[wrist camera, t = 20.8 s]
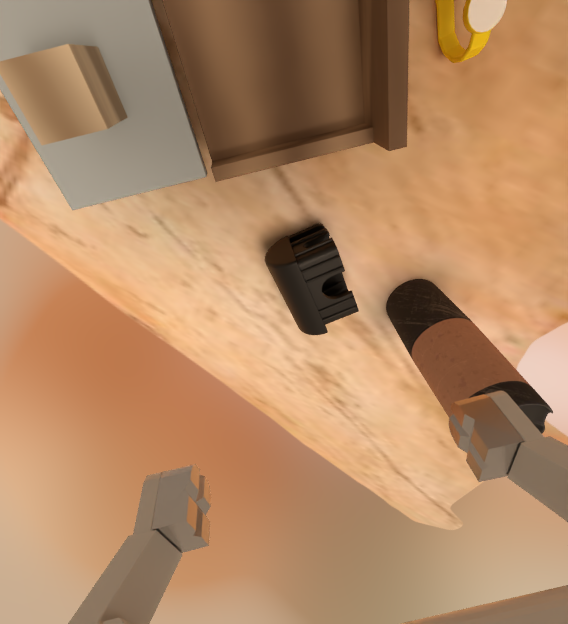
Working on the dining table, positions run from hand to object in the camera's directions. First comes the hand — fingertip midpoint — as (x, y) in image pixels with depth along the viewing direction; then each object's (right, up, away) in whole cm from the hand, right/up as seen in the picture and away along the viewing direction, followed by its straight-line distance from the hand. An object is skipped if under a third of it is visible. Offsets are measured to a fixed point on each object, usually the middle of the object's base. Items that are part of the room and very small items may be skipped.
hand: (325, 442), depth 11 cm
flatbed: (-2, +26, +17) cm, 31 cm away
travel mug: (+16, +6, +35) cm, 39 cm away
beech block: (-15, +19, +12) cm, 27 cm away
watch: (+12, +29, +18) cm, 36 cm away
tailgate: (-9, +20, +12) cm, 25 cm away
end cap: (+1, +10, +30) cm, 31 cm away
